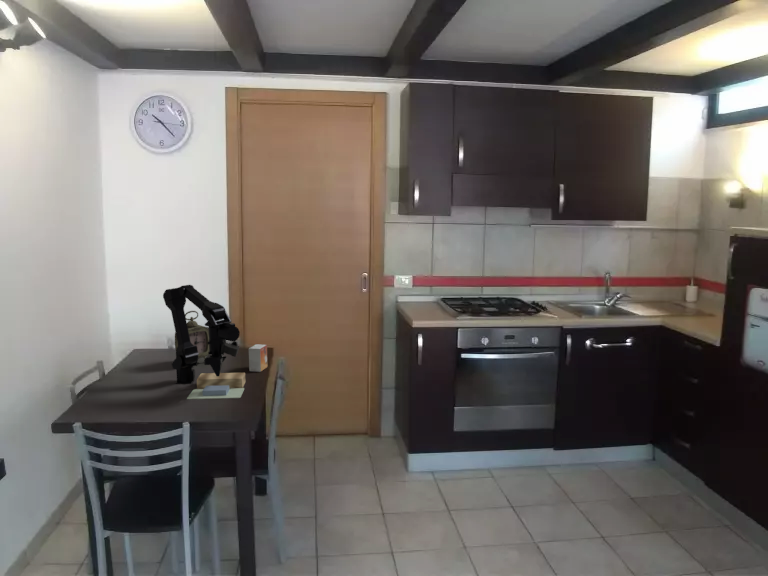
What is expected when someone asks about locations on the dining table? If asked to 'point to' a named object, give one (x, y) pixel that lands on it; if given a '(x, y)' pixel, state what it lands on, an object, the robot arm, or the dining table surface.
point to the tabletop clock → (197, 336)
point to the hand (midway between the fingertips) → (218, 376)
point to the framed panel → (221, 380)
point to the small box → (258, 357)
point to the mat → (231, 394)
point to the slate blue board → (215, 390)
